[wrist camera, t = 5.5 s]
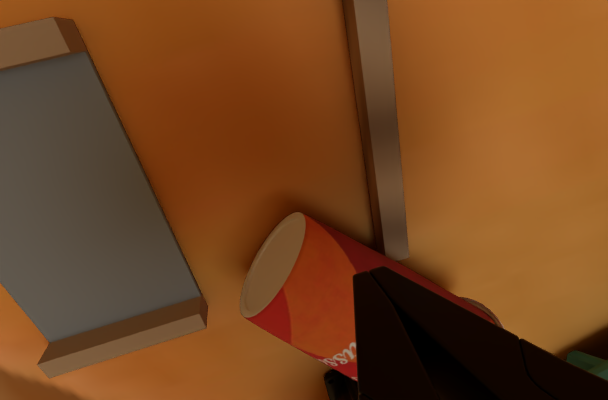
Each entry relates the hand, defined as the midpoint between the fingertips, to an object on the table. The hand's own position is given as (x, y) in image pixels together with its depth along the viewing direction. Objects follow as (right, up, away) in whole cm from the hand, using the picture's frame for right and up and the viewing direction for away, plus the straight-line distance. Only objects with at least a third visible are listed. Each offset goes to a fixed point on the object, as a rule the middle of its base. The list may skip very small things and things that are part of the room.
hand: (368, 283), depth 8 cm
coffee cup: (-3, -1, +9) cm, 9 cm away
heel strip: (+2, +6, +10) cm, 12 cm away
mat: (-14, +1, +9) cm, 16 cm away
